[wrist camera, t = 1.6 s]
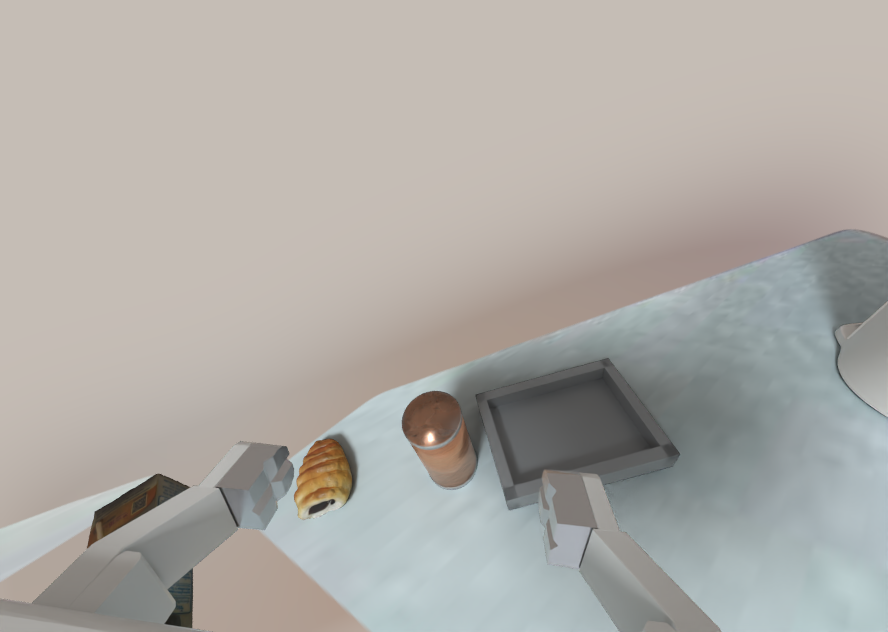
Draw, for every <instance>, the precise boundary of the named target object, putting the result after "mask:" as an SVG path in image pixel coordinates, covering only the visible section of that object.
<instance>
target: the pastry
mask: <svg viewBox="0 0 888 632" xmlns="http://www.w3.org/2000/svg"><path fill="white" fill-rule="evenodd" d="M297 486H298V489H297V491H296V492H295V494H294V500H295V502H296V504H297V507H298V517H299V518H300V519H302V520H305V519H310V518H318V517H321V516H322V515H324V514H326V513H327V512H328V511H330V510H337V509H339V508H341V507H342V506H343V505H344V504H345V503H346V501H347V499H348V496H349V493H350V490H351V487H352V475H351V472H350V468H349V463H348V461H347V459H346V456H345V454H344V451H343V449H342V447H341V446H340V445H339V443H338V442H337V441H335V440H333V439H325V440H319V441H316V442H315V443H314V445H313V446H312V447H311V448H310V450H309V452H308V454H307V455H306V456H305V457H304V460H303V465H302V466H301V467H300V469H299V476H298V478H297Z"/></svg>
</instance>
